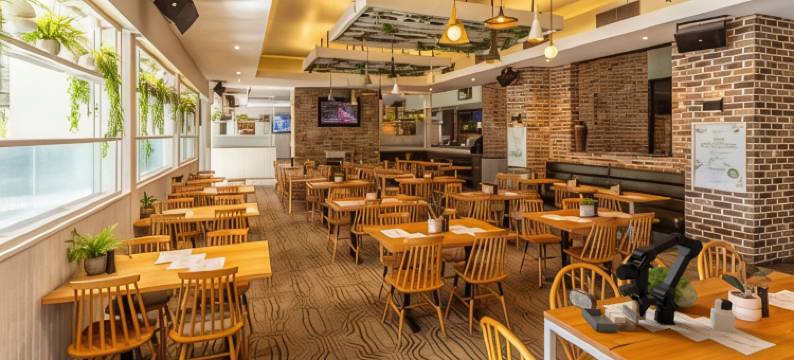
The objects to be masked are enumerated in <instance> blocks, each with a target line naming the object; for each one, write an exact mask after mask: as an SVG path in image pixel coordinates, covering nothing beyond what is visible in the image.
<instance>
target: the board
mask: <svg viewBox="0 0 794 360" xmlns="http://www.w3.org/2000/svg"><path fill="white" fill-rule="evenodd" d="M620 314H622V315H624V313H623V312H620ZM602 317H603V318H604V319H605V320H606V321H607V322H608V323H614V322H613V321H612V320H611V319H610V318H609V317H608V316H606V315H605V312H602ZM625 317H626V323H616V324H617V331H622V332H636V325H637V324H635V323H634V322H633V321H632V320H631V319H630V318H628V317H627V316H625Z"/></svg>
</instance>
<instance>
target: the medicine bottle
mask: <svg viewBox="0 0 794 360" xmlns="http://www.w3.org/2000/svg"><path fill="white" fill-rule="evenodd" d="M733 305H734V304H733V302H732V301H731V300H729V299H724V298H717V299H715V300H714V307H711V309H710V317H709V318H710V319H709V320H710V321H709V324H710V325H711V327H712V328H713V330H714V331H719V330H720V332H728V331H729V332H730V333H735V330H736V317H737V316H736V314H735V313H733Z"/></svg>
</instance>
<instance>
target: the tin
mask: <svg viewBox="0 0 794 360" xmlns="http://www.w3.org/2000/svg"><path fill="white" fill-rule="evenodd" d="M569 300H570V302H571V304H572V305H573V306H575V307H577V308H579V309H581V310H582V308H598V303H597V300H596V297H595V295H594V294H593V293H591V292H589V291H586V290H585V289H583V288H582V289H581V288H579V287H576V288H572V289H570V291H569Z"/></svg>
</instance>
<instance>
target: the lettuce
mask: <svg viewBox="0 0 794 360" xmlns="http://www.w3.org/2000/svg"><path fill="white" fill-rule="evenodd" d="M670 269H671V267H670V268H669V267H667V266H655V267H654V268H649V282H650V285H648V291H649V292H650V295H646V296H651V294H652V292H651V291H652V290H653V289H654V287H655V285H656V284H657V285H661V284H662V283H663V282H664V280H665V278H666V277H667V275H668V273H669V271H670ZM674 301H675V302H676V303H677V305H678V306H679V308H689V307H692V306H694V305H696V303H697V302H698V292H697V290H696V288H695V287H694V286H693V285H692V282H691V281H690V280H689V279H688V278H687V277H685V276H684V274H683V275H682V277H681V279H680V281H679V283H678V284H677V286H676V288H675V299H674Z"/></svg>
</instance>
